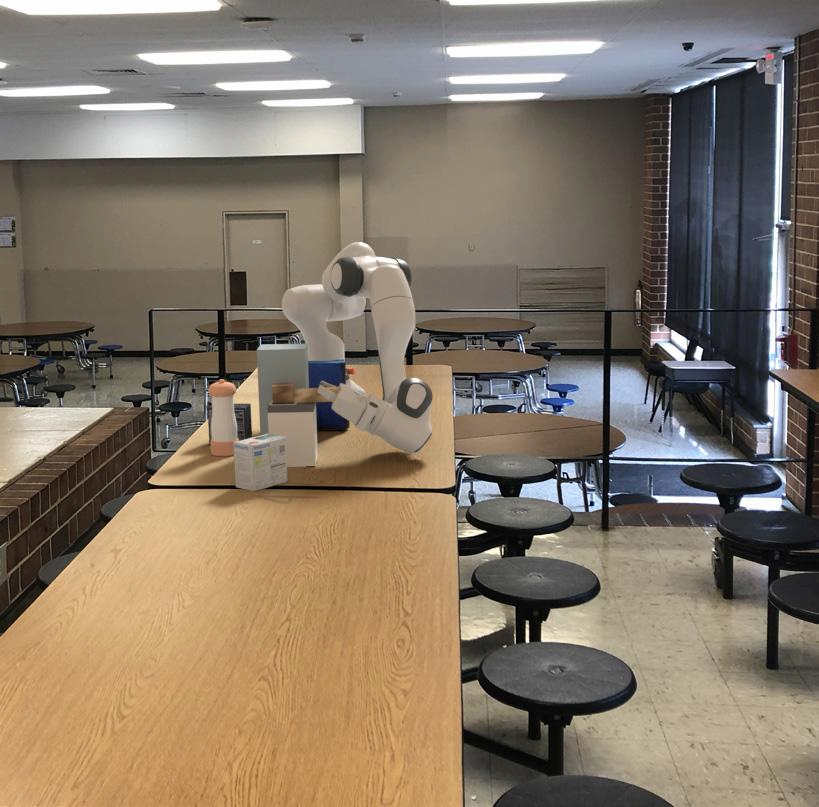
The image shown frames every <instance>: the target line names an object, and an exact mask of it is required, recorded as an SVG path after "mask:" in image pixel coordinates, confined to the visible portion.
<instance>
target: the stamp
mask: <svg viewBox="0 0 819 807" xmlns="http://www.w3.org/2000/svg"><path fill="white" fill-rule="evenodd" d="M325 388H327V389H328V390H330V391H332V392H334V393H336V394H338V391H341V387H325ZM317 390H318V388H303V389H294V382H287V383H273V385H272V398H273V405H276V404H294V403H309V402H331V401H329V400H328V399H326V398H325V397H324V396H323V395H321V394H319V393H318V392H317Z"/></svg>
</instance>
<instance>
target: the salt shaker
mask: <svg viewBox="0 0 819 807" xmlns="http://www.w3.org/2000/svg"><path fill="white" fill-rule="evenodd" d="M207 392H208V393H209V394H208V395H209V396H211V405H212V421H211V435H212V439H211V441H210V444H211V446H210V454H211V455H212V456H216V457H231V456H234V445H233V442H236V441H239V439H238V438H237V422H236V417H235V413H234V404H235V400H234V395H235V394H236V392H237V387H236V385H235V384H234V383H233V382H230V381H226V380H225V379H224V378H223V379H221V378H220V379H219V380H218V381H217V382H214V383H212V384H210V386H209V387H208V391H207Z"/></svg>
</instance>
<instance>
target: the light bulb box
mask: <svg viewBox="0 0 819 807" xmlns="http://www.w3.org/2000/svg"><path fill="white" fill-rule="evenodd" d="M233 445H234V455H233V459H234V460H233V461H234V475H235V476H234V477H235V488H237V489H238V488H239V489H242V490H246V491H251V492H256V491H260V490H264V489H267V488H270V487H273V486H278V485H281V484H284V483H287V482H288V467H287V459H286V437H283V436H277V435H271V434H264V435H260V434H259V435H258V436H252V438H249V439H245V440H241V441H236V442H233Z"/></svg>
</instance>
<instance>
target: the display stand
mask: <svg viewBox="0 0 819 807" xmlns="http://www.w3.org/2000/svg"><path fill="white" fill-rule="evenodd" d="M256 364H257V365H256V366H257V388H258V390H257V391H258V406H259V407H258V412H259V432H260V434H259V436H260V435H264V434H268V410H267V407H268V405H269V403H270V401H271V399H273V398H272V385H273V383H287V382H294V389H303V388H309V372H308V344H305V343H282V344H281V343H274V344H273V343H272V344H266V343H265V344H260V345H259V346H258V347H257V349H256Z"/></svg>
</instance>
